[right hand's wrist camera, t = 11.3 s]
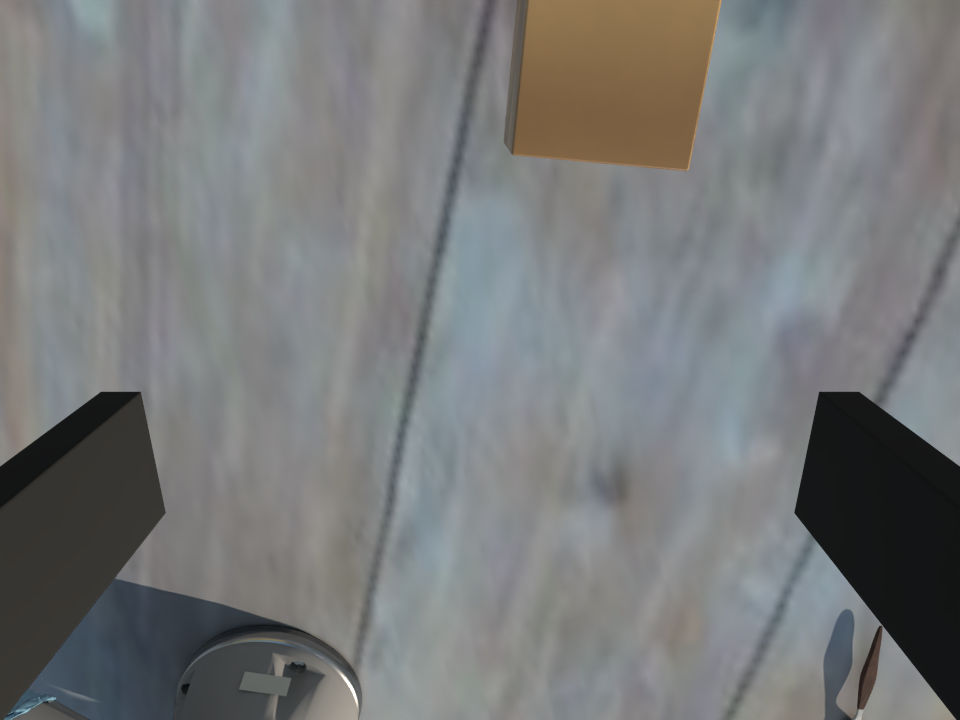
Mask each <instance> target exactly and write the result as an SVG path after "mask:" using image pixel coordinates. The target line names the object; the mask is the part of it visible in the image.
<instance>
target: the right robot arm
mask: <svg viewBox="0 0 960 720" xmlns="http://www.w3.org/2000/svg"><path fill="white" fill-rule="evenodd" d="M165 513H166V512H165V508H164V503H163V498H162V493H161V488H160V483H159V478H158V474H157V469H156V464H155V459H154V454H153V449H152V444H151V440H150V435H149V430H148V425H147V420H146V415H145V410H144V405H143V401H142V396H141V392H100V393H99V394H98V395H96V396H95V397H94V398H92V399H91V400H89V401H88V402H87V403H85V404H84V405H83V406H81V407H80V408H79V409H77V410H76V411H75V412H73V413H72V414H71V415H69V416H68V417H67V418H65V419H64V420H62V421H61V422H60V423H58V424H57V425H56V426H54V427H53V428H52V429H50V430H49V431H48V432H46V433H45V434H44V435H42V436H41V437H40V438H38V439H37V440H35V441H34V442H33V443H31V444H30V445H29V446H27V447H26V448H25V449H23V450H22V451H21V452H19V453H18V454H17V455H15V456H14V457H12V458H11V459H10V460H8V461H7V462H6V463H4V464H3V465H2V466H0V720H89V719H87V718H86V717H84V716H82V715H80V714H78V713H77V712H75V711H73V710H71V709H69V708H67V707H66V706H64V705H62V704H60V703H58V702H57V701H56V697H54V696H52V695H47V694H45V695H41V694H38V693H36V692H34V691H32V690H30V689H28V688H29V687H30V685H31V684H32V683H33V682H34V680H35V679H36V678H37V676H38V675H39V674H40V673H41V671H42V670H43V669H44V667H45V666H46V665H47V664H48V662H49V661H50V660H51V659H52V657H53V656H54V655H55V653H56V652H57V651H58V650H59V648H60V647H61V646H62V644H63V643H64V642H65V641H66V639H67V638H68V637H69V636H70V634H71V633H72V632H73V630H74V629H75V628H76V627H77V625H78V624H79V623H80V621H81V620H82V619H83V618H84V616H85V615H86V614H87V613H88V611H89V610H90V609H91V607H92V606H93V605H94V604H95V602H96V601H97V600H98V599H99V597H100V596H101V595H102V593H103V592H104V591H105V590H106V588H107V587H108V586H109V584H110V583H111V582H112V581H113V579H114V578H115V577H116V576H117V574H118V573H119V572H120V570H121V569H122V568H123V567H124V565H125V564H126V563H127V561H128V560H129V559H130V558H131V556H132V555H133V554H134V553H135V551H136V550H137V549H138V547H139V546H140V545H141V544H142V542H143V541H144V540H145V538H146V537H147V536H148V535H149V533H150V532H151V531H152V530H153V528H154V527H155V526H156V524H157V523H158V522H159V521H160V519H161V518H162V517H163V515H164V514H165ZM794 513H795V514H796V515H797V517H798V518H799V519H800V521H801V522H802V523H803V524H804V526H805V527H806V528H807V530H808V531H809V532H810V533H811V535H812V536H813V537H814V538H815V540H816V541H817V542H818V544H819V545H820V546H821V547H822V549H823V550H824V551H825V553H826V554H827V555H828V556H829V558H830V559H831V560H832V561H833V563H834V564H835V565H836V567H837V568H838V569H839V570H840V572H841V573H842V574H843V576H844V577H845V578H846V579H847V581H848V582H849V583H850V584H851V586H852V587H853V588H854V590H855V591H856V592H857V593H858V595H859V596H860V597H861V599H862V600H863V601H864V602H865V604H866V605H867V606H868V607H869V609H870V610H871V611H872V613H873V614H874V615H875V616H876V618H877V619H878V620H879V621H880V623H881V624H882V625H883V627H884V628H885V629H886V630H887V632H888V633H889V634H890V636H891V637H892V638H893V639H894V641H895V642H896V643H897V644H898V646H899V647H900V648H901V650H902V651H903V652H904V653H905V655H906V656H907V657H908V659H909V660H910V661H911V662H912V664H913V665H914V666H915V667H916V669H917V670H918V671H919V673H920V674H921V675H922V676H923V678H924V679H925V680H926V682H927V683H928V684H929V685H930V687H931V688H932V689H933V690H934V692H935V693H936V694H937V696H938V697H939V698H940V699H941V701H942V702H943V703H944V704H945V706H946V707H947V708H948V710H949V711H950V712H951V713H952V715H953V716H954V717H955V719H956V720H960V466H958V465H957V464H956V463H954V462H953V461H952V460H950V459H949V458H947V457H946V456H945V455H943V454H942V453H941V452H939V451H938V450H937V449H935V448H934V447H933V446H931V445H930V444H929V443H927V442H926V441H925V440H923V439H922V438H920V437H919V436H918V435H916V434H915V433H914V432H912V431H911V430H910V429H908V428H907V427H906V426H904V425H903V424H902V423H900V422H899V421H898V420H896V419H895V418H893V417H892V416H891V415H889V414H888V413H887V412H885V411H884V410H883V409H881V408H880V407H879V406H877V405H876V404H875V403H873V402H872V401H871V400H869V399H868V398H866V397H865V396H864V395H862V394H861V393H860V392H819V396H818V401H817V405H816V410H815V415H814V420H813V425H812V430H811V435H810V440H809V444H808V449H807V454H806V459H805V464H804V469H803V474H802V478H801V483H800V488H799V493H798V498H797V503H796V508H795V512H794ZM361 706H362V693H361V687H360V684H359V681H358V678H357V676H356V674H355V672H354V671H353V669H352V667H351V666H350V665H349V663H348V662H347V661H346V660H345V659H344V658H343V657H342V656H341V655H340V654H339V653H338V652H337V651H336V650H335V649H333V648H332V647H330V646H329V645H328V644H326V643H324V642H323V641H321V640H319V639H317V638H315V637H313V636H311V635H308V634H306V633H303V632H300V631H297V630H293V629H289V628H284V627H277V626H250V627H243V628H238V629H234V630H231V631H228V632H225V633H223V634H221V635H218V636H216V637H215V638H213V639H211V640H210V641H208V642H207V643H206V644H204V645H203V646H202V647H201V648H200V649H199V650H198V651H197V652H196V654H195V655H194V656H193V658H192V659H191V661H190V663H189V665H188V667H187V668H186V670H185V672H184V674H183V676H182V678H181V680H180V682H179V685H178V689H177V694H176V699H175V708H174V715H173V720H359V717H360V712H361Z"/></svg>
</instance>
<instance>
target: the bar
mask: <svg viewBox="0 0 960 720" xmlns="http://www.w3.org/2000/svg"><path fill="white" fill-rule="evenodd" d="M720 6H721V0H517V7H516V18H515V28H514V39H513V49H512V60H511V70H510V81H509V91H508V102H507V112H506V123H505V133H504V143H505V145H506V146H507V148H508V149H509V151H510V152H511V154H512V155H517V156H528V157H539V158H550V159H561V160H571V161H582V162H593V163H604V164H615V165H625V166H636V167H647V168H658V169H669V170H679V171H688V169H689V166H690V161H691V155H692V150H693V145H694V140H695V135H696V130H697V124H698V119H699V114H700V109H701V104H702V99H703V93H704V88H705V83H706V78H707V73H708V68H709V62H710V57H711V52H712V47H713V42H714V37H715V31H716V26H717V21H718V16H719V11H720Z"/></svg>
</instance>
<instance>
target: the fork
mask: <svg viewBox="0 0 960 720" xmlns="http://www.w3.org/2000/svg"><path fill="white" fill-rule="evenodd" d="M881 638H882V626H879V628H878V629H877V632H876V634H875V637H874V640H873V643H872V646H871V648H870V651H869V654H868V657H867V659H866V662H865V664H864V667H863V669H862V672H861V676H860V681H859V691H858V704H857V712H856V715H855V717H854V718H853V719H851V720H861V716H862V713H863V710H864V708H865V705H866V703H867V701H868V699H869V696H870V694H871V692H872V689H873V687H874V684H875V681H876V676H877V669H878V660H879V652H880V645H881Z"/></svg>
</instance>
